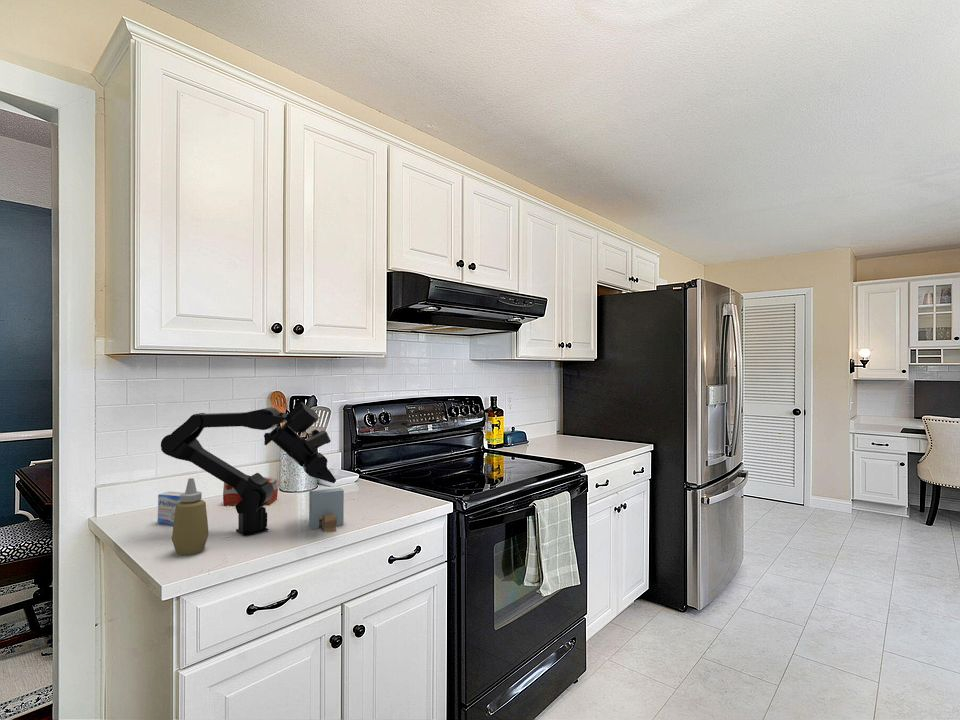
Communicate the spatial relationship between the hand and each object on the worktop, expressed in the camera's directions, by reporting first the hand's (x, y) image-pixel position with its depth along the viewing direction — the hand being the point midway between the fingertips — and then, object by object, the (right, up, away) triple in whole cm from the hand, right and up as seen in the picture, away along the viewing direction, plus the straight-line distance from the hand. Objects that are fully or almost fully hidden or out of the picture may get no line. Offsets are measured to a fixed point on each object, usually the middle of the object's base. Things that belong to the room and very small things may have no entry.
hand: (331, 478), depth 149 cm
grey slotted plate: (-1, -13, -1) cm, 13 cm away
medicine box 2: (-34, -14, +23) cm, 43 cm away
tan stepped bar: (-1, -13, -1) cm, 13 cm away
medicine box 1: (-46, -13, +1) cm, 48 cm away
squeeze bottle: (-29, -13, -22) cm, 38 cm away
